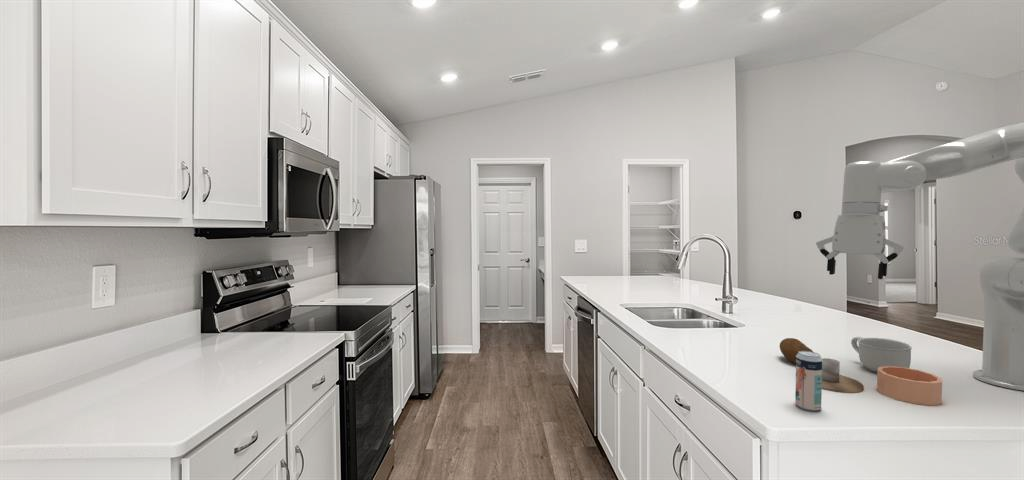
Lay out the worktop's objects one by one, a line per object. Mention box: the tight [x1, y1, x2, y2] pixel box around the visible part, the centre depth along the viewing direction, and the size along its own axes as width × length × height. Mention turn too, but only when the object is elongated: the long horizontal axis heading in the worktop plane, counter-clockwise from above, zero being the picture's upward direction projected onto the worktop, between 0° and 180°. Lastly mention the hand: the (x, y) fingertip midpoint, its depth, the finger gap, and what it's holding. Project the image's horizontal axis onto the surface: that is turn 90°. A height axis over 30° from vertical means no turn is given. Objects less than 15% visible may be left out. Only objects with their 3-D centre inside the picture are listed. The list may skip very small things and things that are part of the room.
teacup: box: [850, 336, 912, 374], centre depth 113 cm, size 14×11×8 cm
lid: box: [822, 357, 865, 394], centre depth 104 cm, size 13×13×6 cm
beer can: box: [794, 351, 824, 412], centre depth 90 cm, size 5×5×12 cm
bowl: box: [876, 366, 943, 407], centre depth 96 cm, size 11×11×5 cm
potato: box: [779, 337, 814, 365], centre depth 119 cm, size 7×12×7 cm, turn 8°
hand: (855, 276), depth 106 cm, fingers open, 9 cm apart
